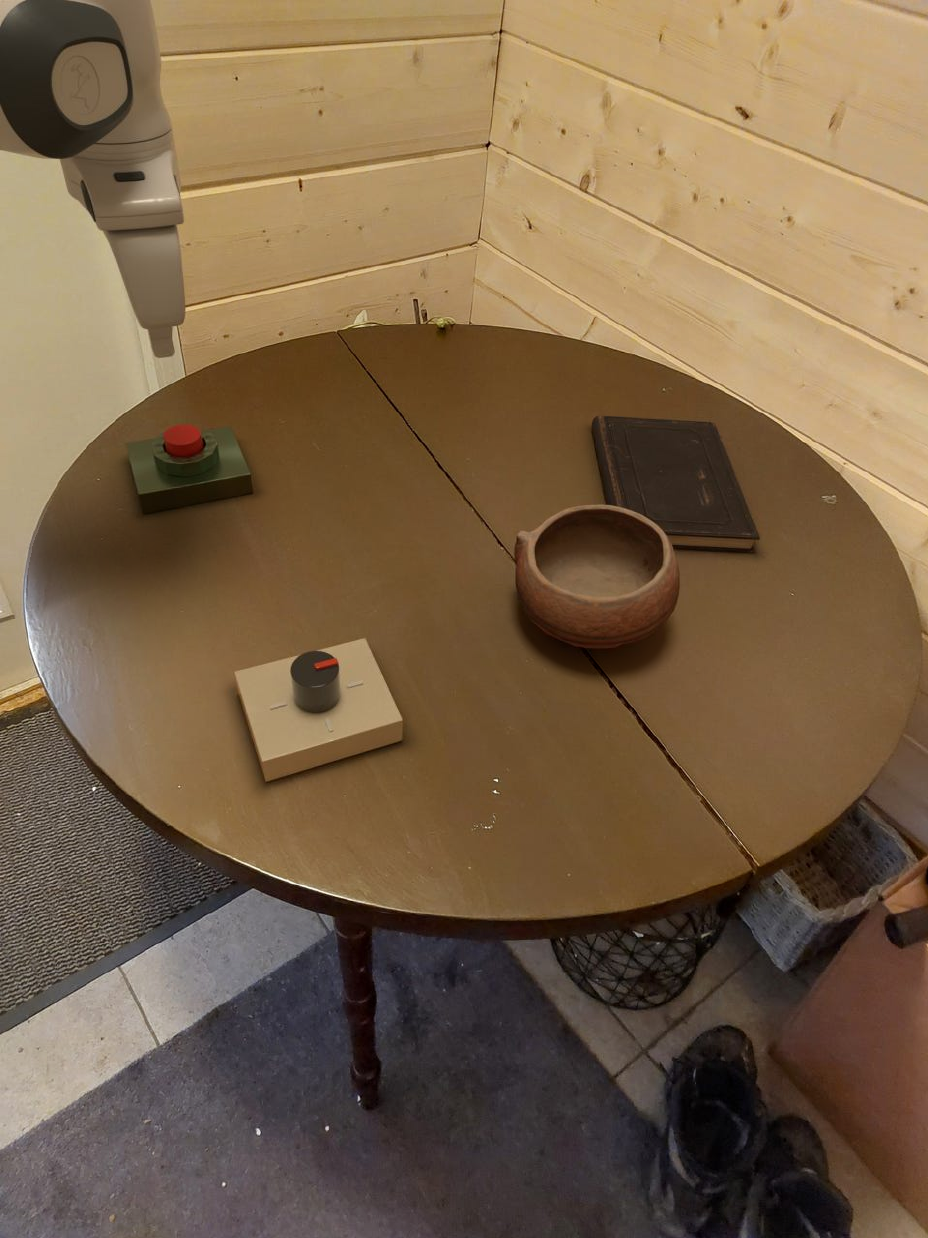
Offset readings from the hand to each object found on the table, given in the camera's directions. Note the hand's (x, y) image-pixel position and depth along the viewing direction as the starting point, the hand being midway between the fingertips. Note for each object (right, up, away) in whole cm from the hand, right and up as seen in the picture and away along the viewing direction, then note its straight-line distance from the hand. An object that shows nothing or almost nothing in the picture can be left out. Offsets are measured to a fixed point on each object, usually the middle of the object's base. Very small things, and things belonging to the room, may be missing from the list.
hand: (154, 328), depth 76 cm
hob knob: (+16, -33, -5) cm, 37 cm away
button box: (-3, -10, +19) cm, 22 cm away
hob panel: (+16, -35, -3) cm, 39 cm away
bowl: (+41, -27, +8) cm, 50 cm away
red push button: (-3, -8, +16) cm, 18 cm away
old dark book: (+53, -11, +24) cm, 60 cm away
